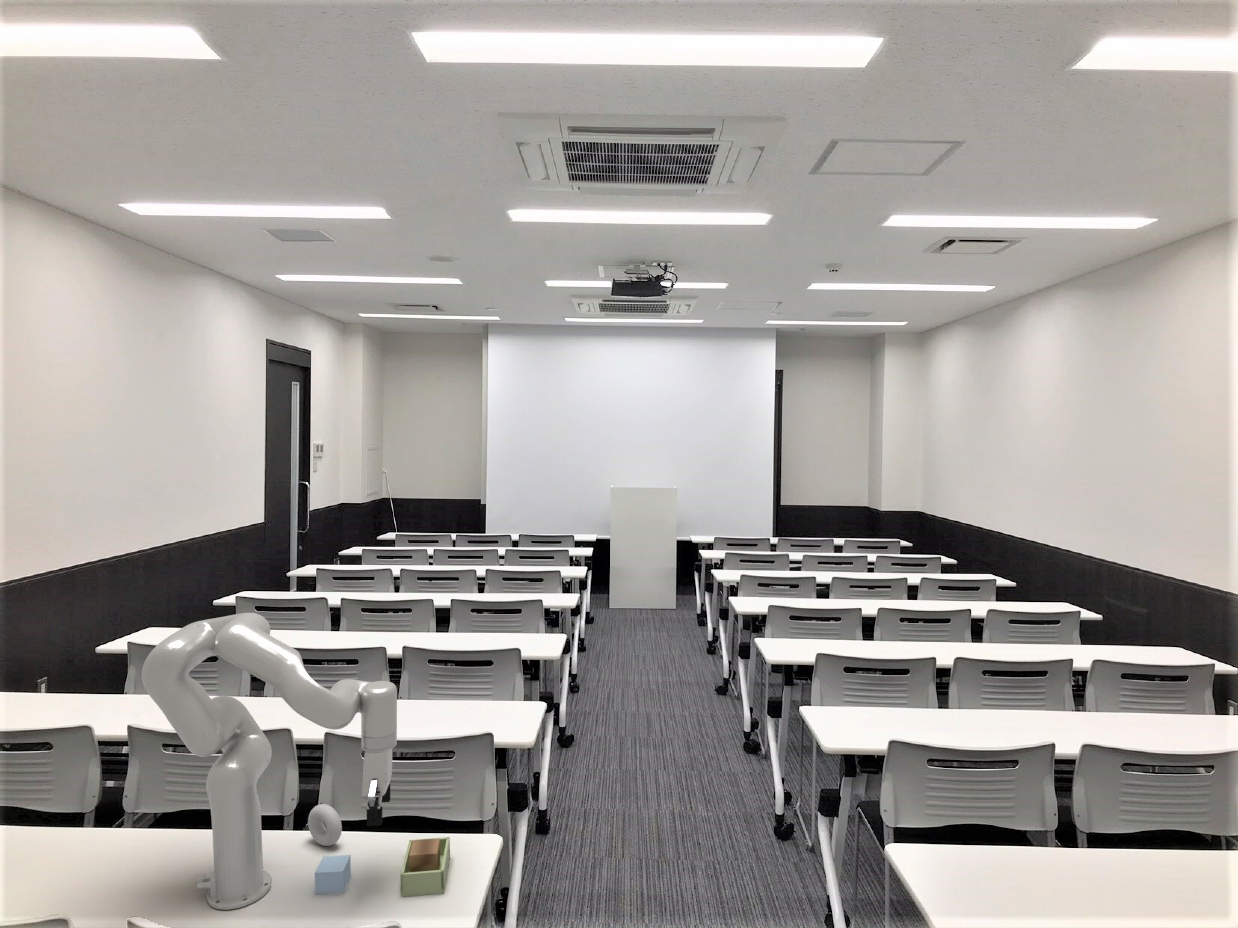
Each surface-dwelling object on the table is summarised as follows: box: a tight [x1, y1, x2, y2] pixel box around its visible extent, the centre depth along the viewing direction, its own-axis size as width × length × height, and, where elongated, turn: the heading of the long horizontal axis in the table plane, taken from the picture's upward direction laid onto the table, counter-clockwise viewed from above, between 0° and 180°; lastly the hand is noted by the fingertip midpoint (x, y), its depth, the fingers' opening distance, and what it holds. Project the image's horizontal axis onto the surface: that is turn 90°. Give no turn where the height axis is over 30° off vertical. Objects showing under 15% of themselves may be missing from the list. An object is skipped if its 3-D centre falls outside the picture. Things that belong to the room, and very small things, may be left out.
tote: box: [399, 836, 451, 898], centre depth 169 cm, size 9×13×5 cm
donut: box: [307, 803, 343, 847], centre depth 181 cm, size 10×3×10 cm, turn 62°
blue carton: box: [314, 854, 352, 895], centre depth 166 cm, size 6×6×5 cm
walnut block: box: [409, 837, 441, 872], centre depth 168 cm, size 6×6×6 cm
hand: (378, 812), depth 166 cm, fingers open, 9 cm apart
